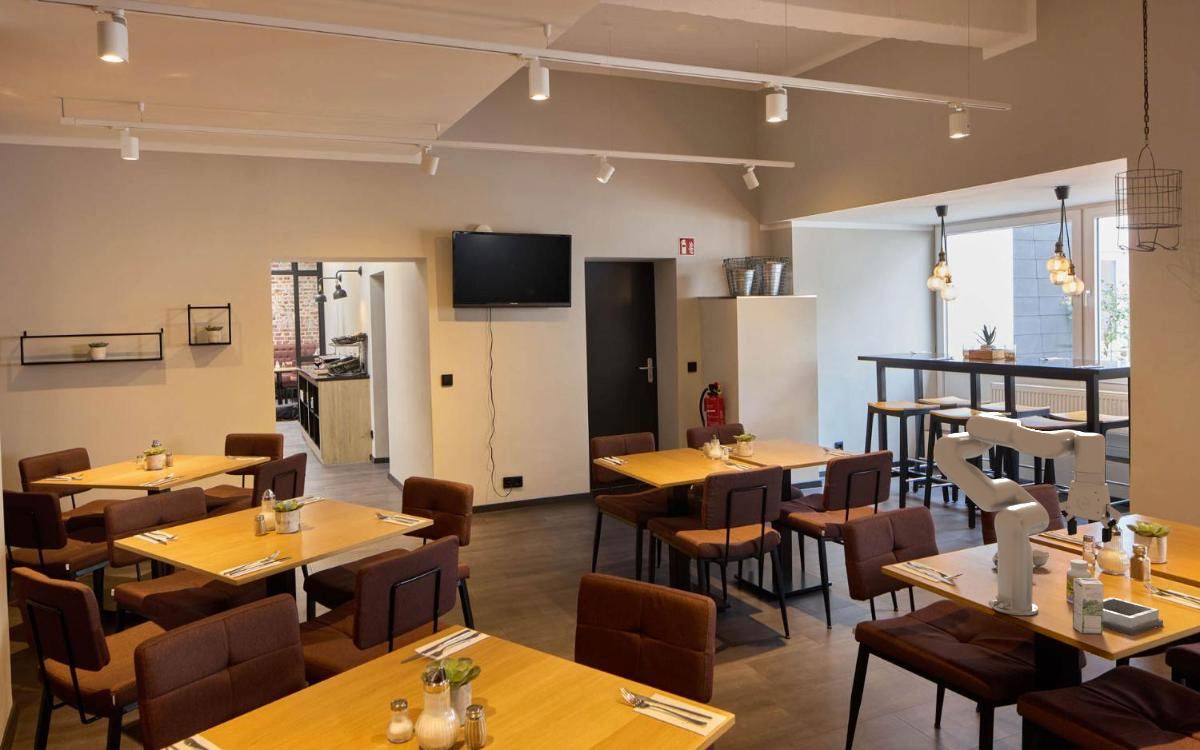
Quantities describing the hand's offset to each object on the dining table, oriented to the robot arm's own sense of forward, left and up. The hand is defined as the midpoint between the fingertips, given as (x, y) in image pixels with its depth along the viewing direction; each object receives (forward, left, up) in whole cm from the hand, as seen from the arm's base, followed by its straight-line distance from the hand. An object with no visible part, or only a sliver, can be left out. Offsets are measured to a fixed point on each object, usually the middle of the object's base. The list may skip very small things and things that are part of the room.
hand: (1089, 538), depth 238 cm
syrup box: (0, 0, -27) cm, 27 cm away
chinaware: (+35, +47, -27) cm, 64 cm away
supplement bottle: (+21, +16, -27) cm, 37 cm away
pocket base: (+14, -1, -26) cm, 30 cm away
